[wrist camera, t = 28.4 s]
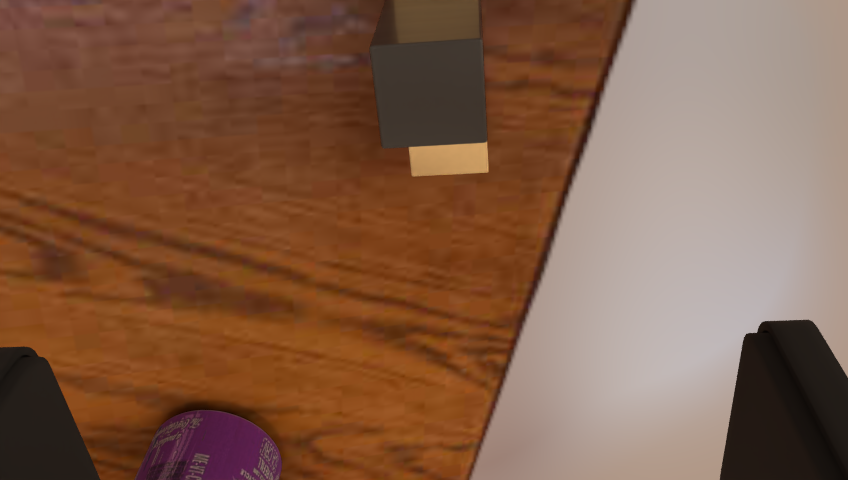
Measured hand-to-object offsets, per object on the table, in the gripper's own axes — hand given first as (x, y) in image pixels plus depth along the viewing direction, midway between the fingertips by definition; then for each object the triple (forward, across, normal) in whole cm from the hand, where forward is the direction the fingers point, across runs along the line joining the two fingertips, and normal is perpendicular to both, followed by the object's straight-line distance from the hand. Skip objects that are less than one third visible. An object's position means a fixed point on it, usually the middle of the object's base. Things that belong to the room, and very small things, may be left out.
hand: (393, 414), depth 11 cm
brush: (+22, 0, 0) cm, 22 cm away
